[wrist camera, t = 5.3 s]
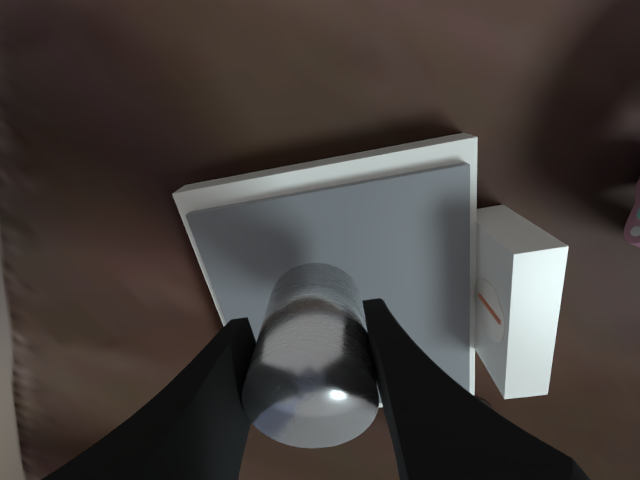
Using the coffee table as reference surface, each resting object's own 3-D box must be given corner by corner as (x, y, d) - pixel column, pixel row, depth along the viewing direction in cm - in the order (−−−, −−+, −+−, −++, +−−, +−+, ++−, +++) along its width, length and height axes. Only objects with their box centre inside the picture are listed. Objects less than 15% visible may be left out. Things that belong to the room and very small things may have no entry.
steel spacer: (284, 346, 15) (264, 455, 10) (258, 272, 13) (222, 361, 9) (369, 332, 15) (388, 439, 10) (353, 254, 13) (366, 338, 8)
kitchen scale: (264, 400, 23) (249, 475, 19) (185, 184, 17) (132, 219, 12) (495, 372, 22) (539, 447, 17) (506, 124, 15) (583, 138, 11)
